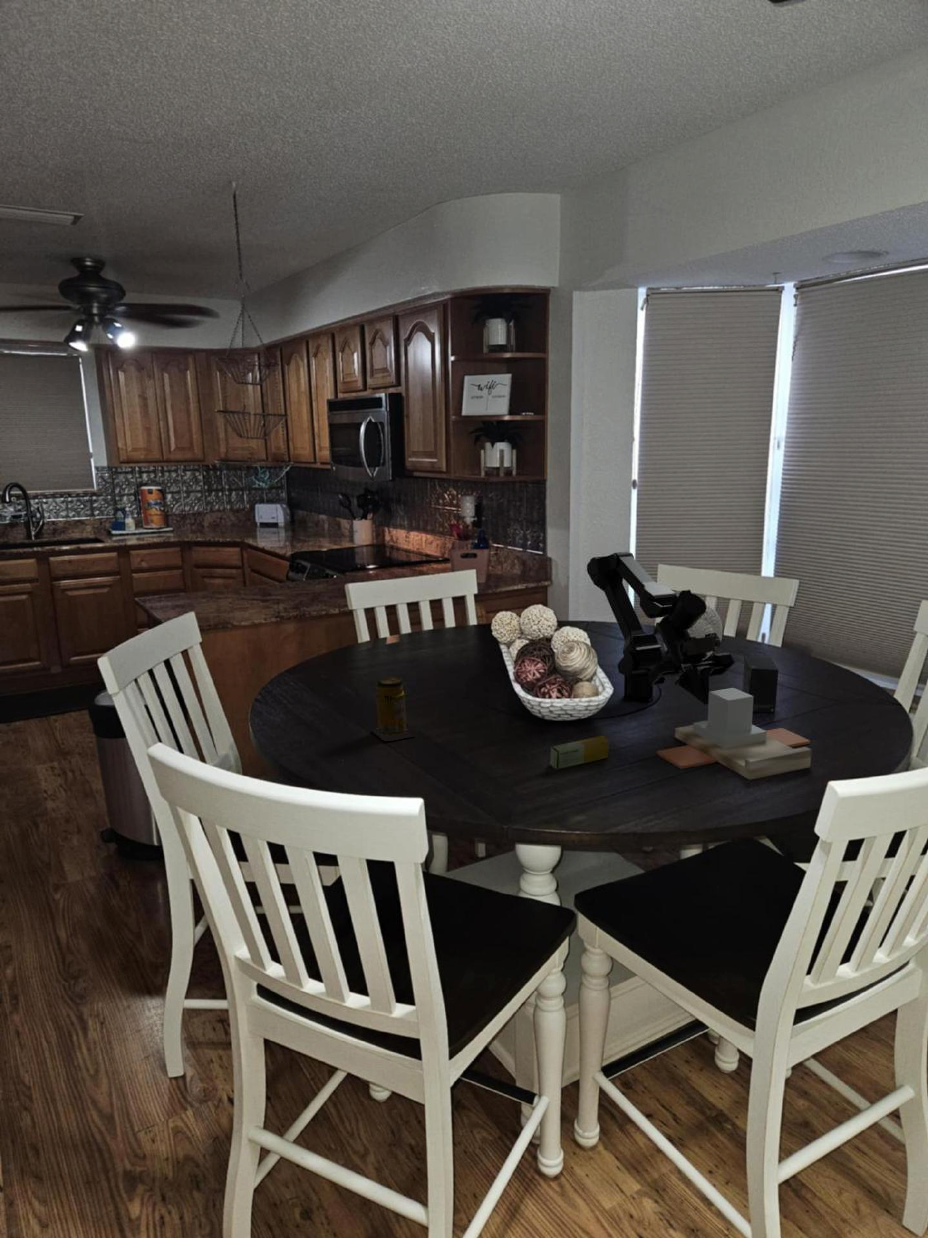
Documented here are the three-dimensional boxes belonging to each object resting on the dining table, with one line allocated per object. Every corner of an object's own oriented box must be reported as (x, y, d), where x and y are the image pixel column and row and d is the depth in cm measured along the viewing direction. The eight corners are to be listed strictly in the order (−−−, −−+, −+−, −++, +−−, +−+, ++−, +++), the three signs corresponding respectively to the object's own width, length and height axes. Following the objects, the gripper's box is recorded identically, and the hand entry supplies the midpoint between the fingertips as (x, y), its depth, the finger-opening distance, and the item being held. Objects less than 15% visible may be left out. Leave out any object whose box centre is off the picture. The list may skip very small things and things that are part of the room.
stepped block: (692, 731, 163) (694, 690, 161) (732, 724, 166) (734, 683, 164) (724, 749, 154) (726, 705, 152) (766, 741, 157) (768, 697, 155)
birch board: (675, 737, 165) (675, 721, 165) (730, 727, 170) (730, 711, 169) (749, 779, 144) (750, 761, 144) (810, 767, 149) (811, 749, 148)
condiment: (401, 725, 177) (399, 674, 174) (416, 737, 169) (413, 684, 167) (370, 731, 174) (367, 679, 171) (384, 744, 166) (381, 689, 164)
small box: (777, 713, 177) (780, 669, 175) (746, 712, 179) (749, 668, 176) (769, 698, 188) (772, 656, 185) (740, 697, 189) (742, 655, 186)
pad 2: (751, 736, 165) (751, 733, 165) (781, 730, 167) (781, 727, 167) (778, 749, 157) (778, 746, 157) (810, 743, 160) (810, 740, 160)
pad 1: (656, 754, 157) (656, 751, 157) (690, 747, 160) (690, 744, 160) (680, 769, 150) (680, 766, 150) (715, 762, 152) (716, 759, 152)
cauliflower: (657, 617, 235) (685, 580, 223) (710, 644, 235) (741, 608, 223) (646, 661, 221) (675, 624, 209) (702, 690, 220) (734, 655, 209)
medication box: (556, 771, 151) (556, 752, 150) (549, 764, 154) (549, 746, 152) (609, 758, 156) (610, 740, 154) (601, 752, 158) (602, 734, 157)
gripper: (657, 625, 163) (687, 691, 156) (731, 616, 170) (764, 679, 162) (635, 653, 172) (663, 716, 165) (706, 643, 178) (737, 704, 171)
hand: (707, 703), depth 165 cm, fingers closed
